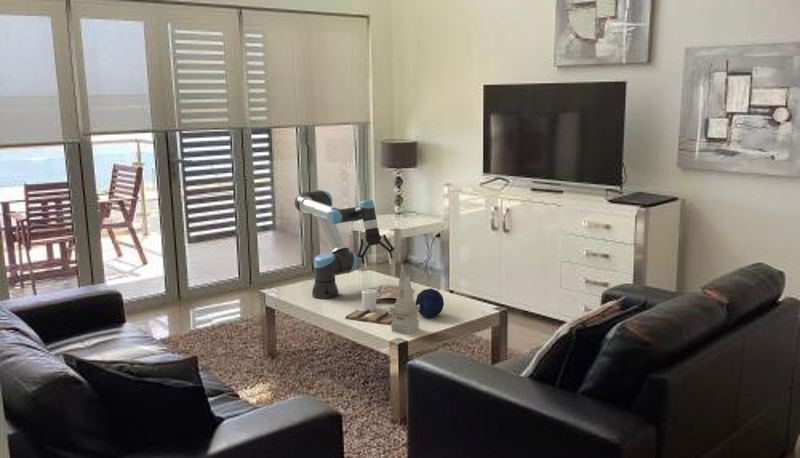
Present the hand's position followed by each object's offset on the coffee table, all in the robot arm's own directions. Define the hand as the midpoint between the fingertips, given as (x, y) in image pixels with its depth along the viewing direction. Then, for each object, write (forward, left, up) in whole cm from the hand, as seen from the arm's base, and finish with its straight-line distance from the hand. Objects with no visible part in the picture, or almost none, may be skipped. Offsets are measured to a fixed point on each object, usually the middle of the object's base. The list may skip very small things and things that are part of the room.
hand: (378, 266), depth 378 cm
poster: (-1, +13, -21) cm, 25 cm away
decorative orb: (+35, -12, -20) cm, 42 cm away
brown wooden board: (+10, -27, -20) cm, 35 cm away
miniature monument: (+33, -37, -20) cm, 54 cm away
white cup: (+1, -14, -20) cm, 25 cm away
